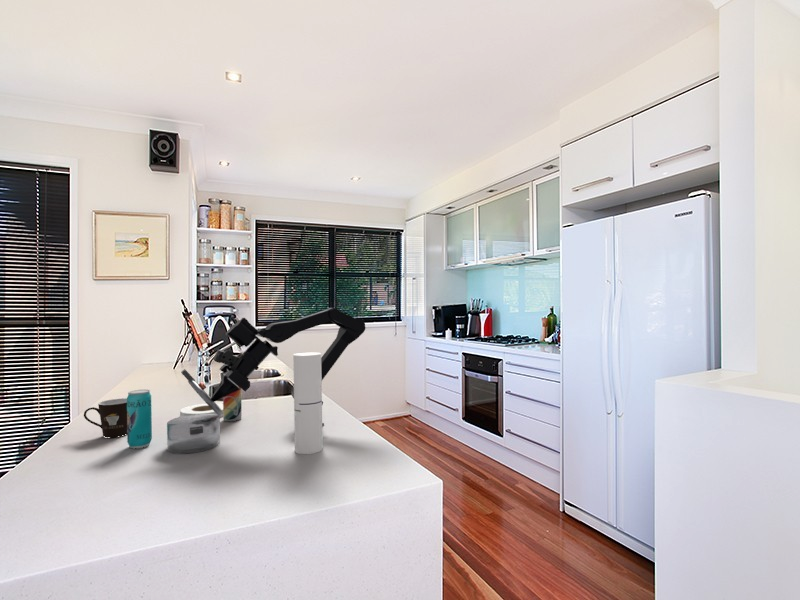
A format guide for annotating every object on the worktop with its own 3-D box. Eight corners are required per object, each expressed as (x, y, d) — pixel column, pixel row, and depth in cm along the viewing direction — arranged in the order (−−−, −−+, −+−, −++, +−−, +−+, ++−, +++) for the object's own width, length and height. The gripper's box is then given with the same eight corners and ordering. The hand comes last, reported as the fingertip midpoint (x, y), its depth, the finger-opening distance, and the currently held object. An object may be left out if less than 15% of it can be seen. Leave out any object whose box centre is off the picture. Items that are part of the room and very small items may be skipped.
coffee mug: (139, 431, 134) (139, 398, 134) (118, 439, 125) (118, 405, 125) (104, 430, 135) (104, 398, 135) (81, 439, 126) (81, 404, 126)
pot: (216, 433, 130) (215, 409, 130) (224, 450, 114) (223, 423, 114) (166, 440, 123) (166, 416, 123) (168, 459, 108) (167, 431, 108)
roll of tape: (237, 413, 154) (237, 405, 154) (197, 424, 141) (197, 415, 141) (210, 408, 163) (210, 401, 163) (170, 418, 150) (170, 410, 150)
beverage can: (122, 447, 118) (122, 392, 118) (143, 441, 123) (143, 388, 123) (135, 451, 115) (134, 394, 115) (156, 444, 120) (155, 390, 120)
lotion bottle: (229, 422, 141) (228, 361, 141) (219, 420, 145) (219, 360, 145) (245, 418, 146) (244, 359, 146) (235, 416, 149) (234, 358, 149)
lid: (216, 410, 128) (223, 404, 129) (222, 420, 116) (230, 414, 117) (179, 370, 123) (186, 364, 124) (181, 376, 112) (189, 370, 113)
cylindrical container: (316, 454, 110) (314, 355, 110) (290, 453, 111) (288, 355, 111) (326, 445, 117) (325, 352, 117) (301, 444, 118) (300, 352, 118)
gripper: (226, 337, 132) (186, 377, 126) (236, 341, 116) (191, 387, 110) (254, 361, 136) (216, 400, 130) (267, 368, 119) (225, 414, 114)
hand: (212, 400), depth 121 cm, fingers closed, pressing on lid
